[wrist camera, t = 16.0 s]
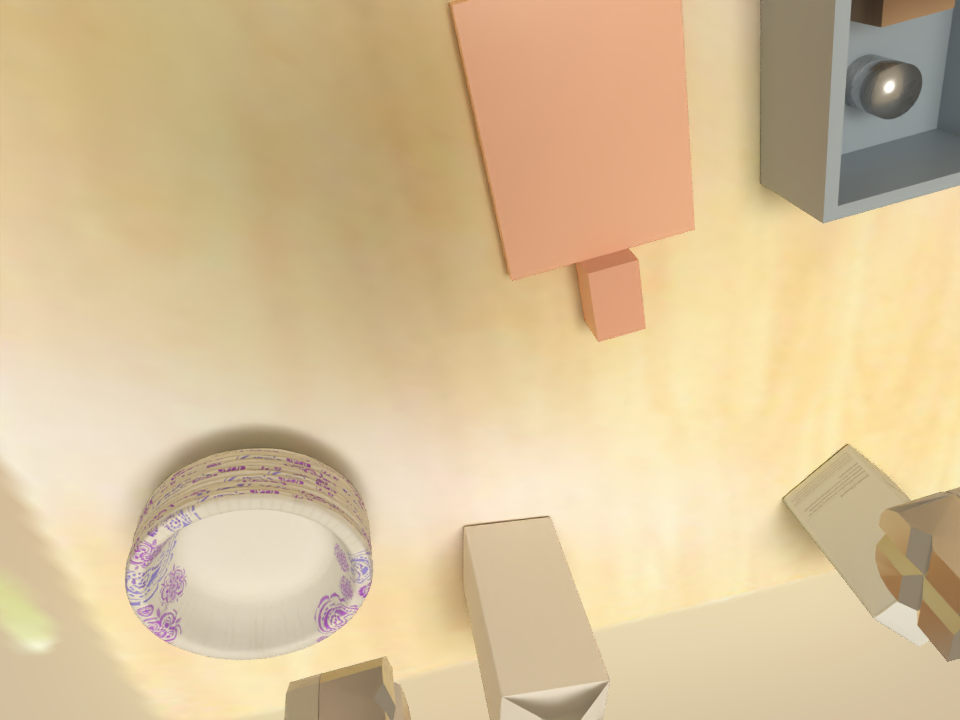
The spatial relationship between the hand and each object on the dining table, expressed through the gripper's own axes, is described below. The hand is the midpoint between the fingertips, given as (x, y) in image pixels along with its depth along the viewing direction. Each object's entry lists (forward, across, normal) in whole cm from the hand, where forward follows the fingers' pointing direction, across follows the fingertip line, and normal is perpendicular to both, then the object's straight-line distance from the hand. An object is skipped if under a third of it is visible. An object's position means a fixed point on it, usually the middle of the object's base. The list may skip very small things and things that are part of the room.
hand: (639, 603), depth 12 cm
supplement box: (+34, -27, +40) cm, 59 cm away
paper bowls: (+34, +18, +24) cm, 46 cm away
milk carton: (+34, +2, +36) cm, 50 cm away
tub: (+34, -26, +2) cm, 43 cm away
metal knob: (+33, -26, +5) cm, 43 cm away
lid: (+34, -9, +6) cm, 36 cm away
